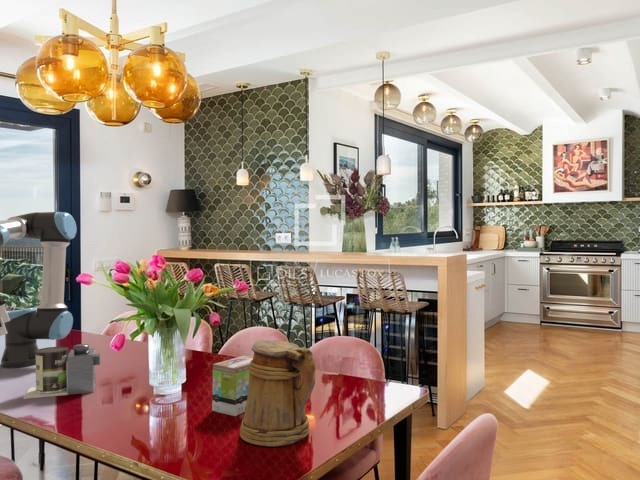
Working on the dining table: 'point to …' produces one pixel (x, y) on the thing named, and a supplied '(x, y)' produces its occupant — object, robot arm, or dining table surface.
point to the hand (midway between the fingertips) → (4, 328)
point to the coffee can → (51, 370)
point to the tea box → (231, 385)
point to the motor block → (81, 369)
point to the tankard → (278, 394)
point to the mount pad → (33, 394)
